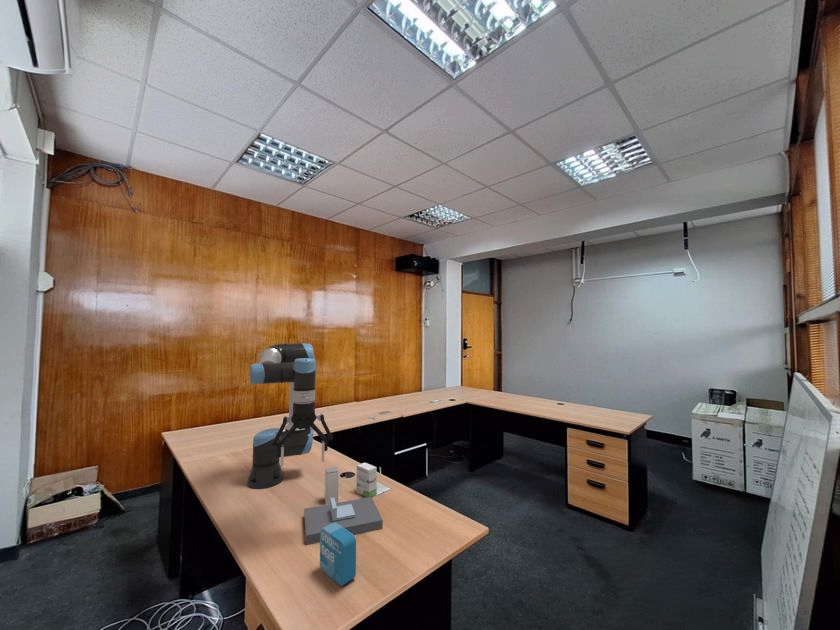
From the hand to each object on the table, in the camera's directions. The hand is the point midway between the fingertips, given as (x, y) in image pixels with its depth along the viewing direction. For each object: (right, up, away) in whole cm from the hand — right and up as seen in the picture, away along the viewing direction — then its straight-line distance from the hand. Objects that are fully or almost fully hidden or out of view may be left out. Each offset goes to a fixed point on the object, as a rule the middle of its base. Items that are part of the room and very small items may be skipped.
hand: (302, 463), depth 117 cm
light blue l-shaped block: (+13, -21, +6) cm, 25 cm away
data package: (+17, -23, -20) cm, 36 cm away
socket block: (+13, -25, +6) cm, 28 cm away
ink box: (+18, -26, +28) cm, 42 cm away
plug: (+4, -25, +22) cm, 34 cm away
